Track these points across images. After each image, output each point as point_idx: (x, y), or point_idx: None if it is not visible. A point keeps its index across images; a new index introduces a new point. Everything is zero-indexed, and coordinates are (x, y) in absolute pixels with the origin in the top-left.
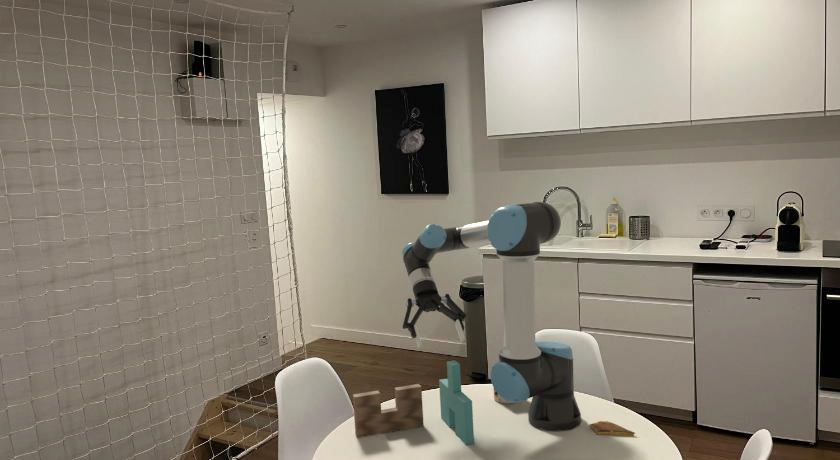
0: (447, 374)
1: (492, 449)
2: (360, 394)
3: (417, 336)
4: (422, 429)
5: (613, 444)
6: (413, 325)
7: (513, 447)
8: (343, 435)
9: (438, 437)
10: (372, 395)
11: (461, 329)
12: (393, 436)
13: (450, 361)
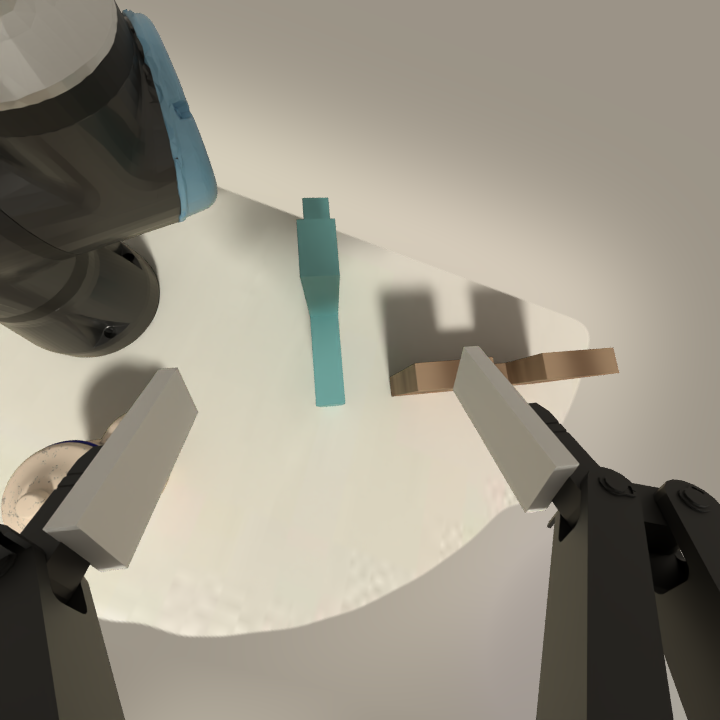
0: (338, 297)
1: (287, 224)
2: (597, 365)
3: (507, 382)
4: (395, 359)
5: None
6: (580, 489)
7: (245, 217)
8: (557, 388)
9: (372, 309)
10: (561, 352)
11: (128, 420)
12: (459, 347)
13: (324, 267)
